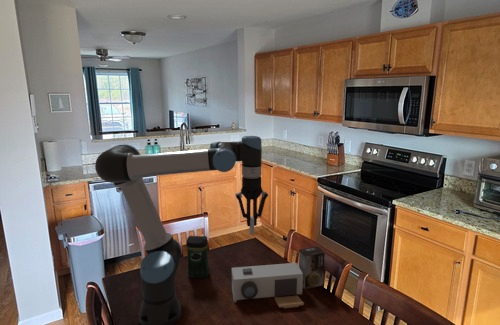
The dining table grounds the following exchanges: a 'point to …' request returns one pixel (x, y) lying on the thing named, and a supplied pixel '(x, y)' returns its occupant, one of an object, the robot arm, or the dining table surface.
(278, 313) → the dining table surface
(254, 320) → the dining table surface
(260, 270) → the box
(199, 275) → the coffee jar
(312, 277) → the coffee box
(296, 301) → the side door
